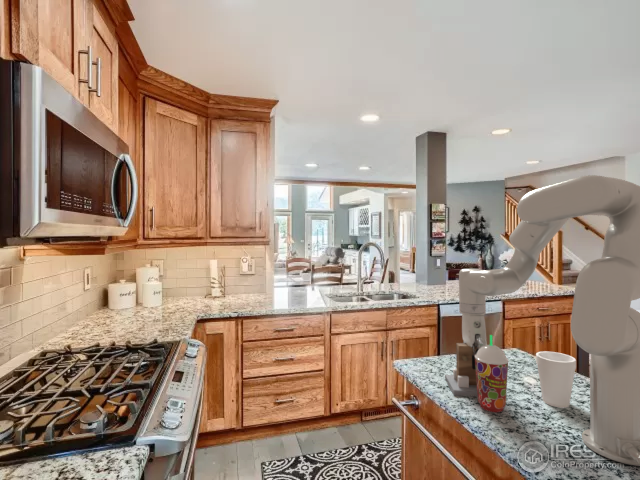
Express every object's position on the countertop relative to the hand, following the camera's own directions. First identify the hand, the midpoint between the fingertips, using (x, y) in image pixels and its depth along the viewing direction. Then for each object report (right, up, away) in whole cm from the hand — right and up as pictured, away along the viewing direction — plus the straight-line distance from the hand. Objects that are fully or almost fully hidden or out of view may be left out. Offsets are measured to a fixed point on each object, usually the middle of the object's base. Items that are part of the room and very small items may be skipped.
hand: (473, 363), depth 109 cm
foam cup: (+19, -8, -10) cm, 23 cm away
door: (0, -6, 0) cm, 6 cm away
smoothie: (0, -8, -12) cm, 15 cm away
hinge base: (0, -8, 0) cm, 8 cm away
